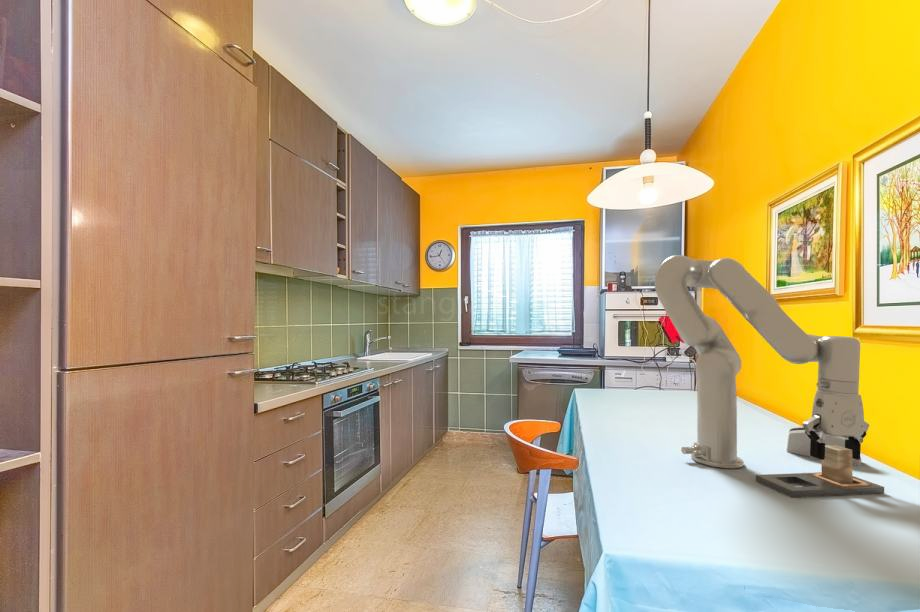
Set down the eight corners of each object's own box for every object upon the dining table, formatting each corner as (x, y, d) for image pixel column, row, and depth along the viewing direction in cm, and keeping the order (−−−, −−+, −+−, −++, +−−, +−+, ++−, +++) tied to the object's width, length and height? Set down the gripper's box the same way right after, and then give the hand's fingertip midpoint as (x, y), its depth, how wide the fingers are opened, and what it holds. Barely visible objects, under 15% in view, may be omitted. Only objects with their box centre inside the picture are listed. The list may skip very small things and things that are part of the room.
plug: (837, 488, 102) (837, 450, 103) (821, 482, 106) (821, 445, 107) (852, 488, 103) (852, 449, 103) (835, 481, 107) (835, 445, 107)
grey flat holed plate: (792, 497, 96) (792, 490, 97) (755, 481, 106) (755, 474, 106) (884, 493, 100) (884, 486, 100) (840, 477, 110) (840, 470, 110)
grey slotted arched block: (861, 461, 123) (861, 430, 121) (861, 471, 120) (860, 439, 118) (788, 448, 135) (786, 419, 132) (786, 456, 131) (784, 427, 129)
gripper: (821, 389, 100) (818, 463, 100) (885, 390, 102) (882, 463, 102) (792, 383, 107) (789, 452, 107) (852, 385, 110) (849, 452, 110)
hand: (834, 457), depth 105 cm, fingers open, 9 cm apart
